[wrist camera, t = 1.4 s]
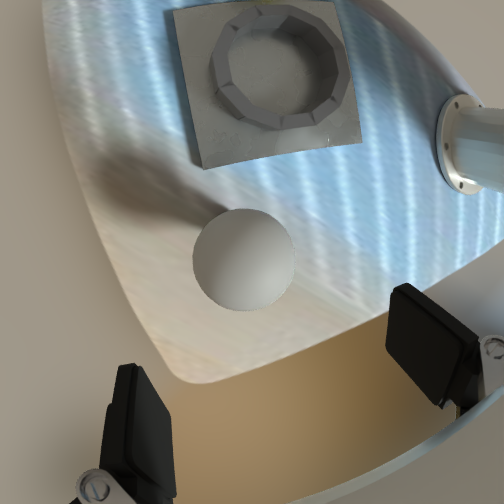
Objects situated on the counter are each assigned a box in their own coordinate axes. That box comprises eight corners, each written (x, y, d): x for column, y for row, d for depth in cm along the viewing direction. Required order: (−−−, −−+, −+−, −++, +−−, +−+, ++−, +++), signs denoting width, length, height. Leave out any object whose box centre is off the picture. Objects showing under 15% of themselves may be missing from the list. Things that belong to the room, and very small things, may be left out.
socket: (318, 18, 19) (333, 6, 16) (340, 122, 23) (358, 121, 20) (201, 25, 17) (203, 10, 15) (223, 139, 21) (228, 139, 19)
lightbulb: (177, 211, 24) (170, 264, 14) (243, 175, 24) (284, 201, 14) (213, 269, 26) (230, 348, 16) (273, 236, 26) (326, 297, 16)
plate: (328, 5, 19) (333, 2, 18) (356, 142, 24) (362, 143, 24) (173, 15, 17) (172, 10, 16) (202, 169, 23) (203, 170, 22)
